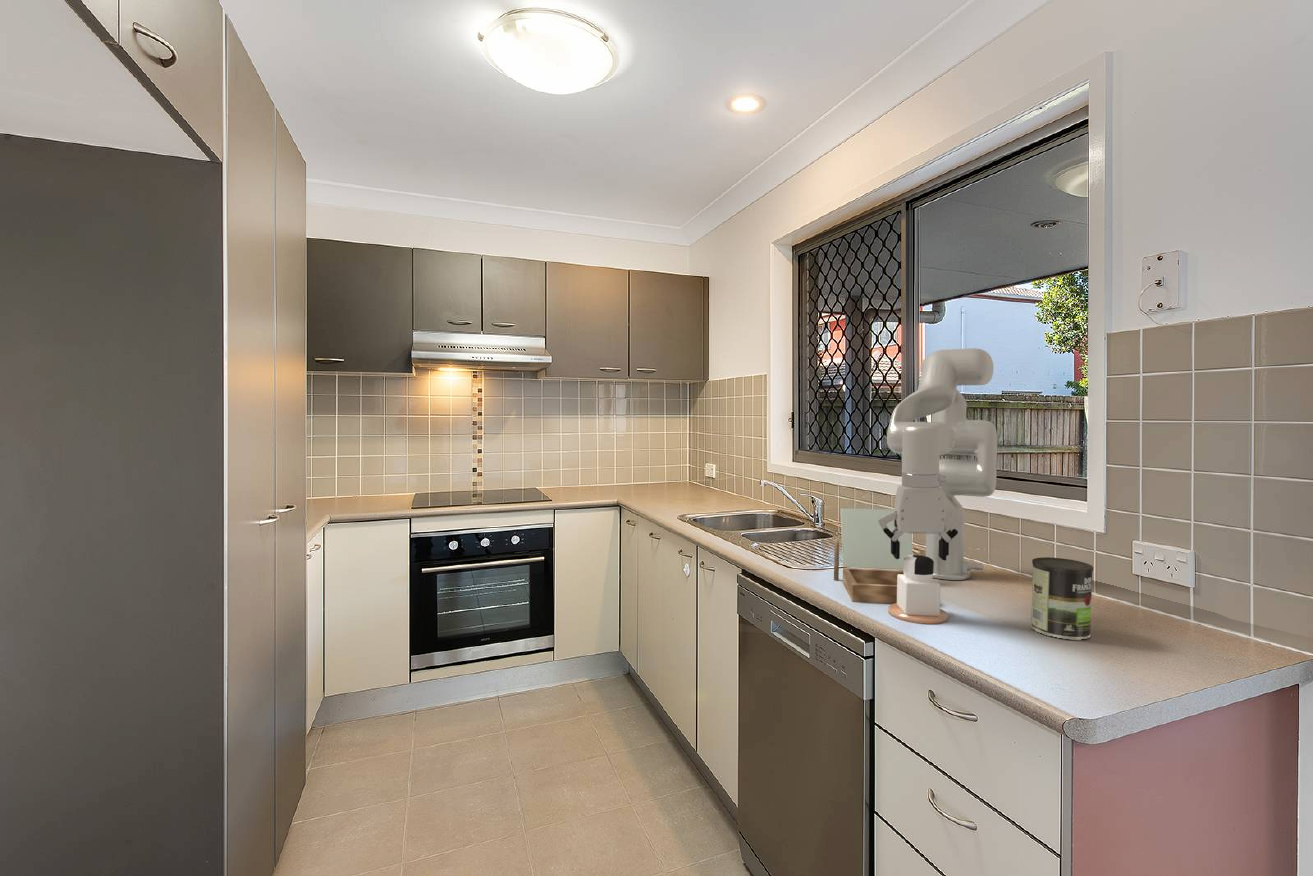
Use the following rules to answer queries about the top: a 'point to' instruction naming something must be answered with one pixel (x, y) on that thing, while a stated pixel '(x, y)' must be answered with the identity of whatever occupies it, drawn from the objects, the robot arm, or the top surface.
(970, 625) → the top surface
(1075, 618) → the coffee can
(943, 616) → the saucer
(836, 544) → the prop stake
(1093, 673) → the top surface
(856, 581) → the frame
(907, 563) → the medicine bottle
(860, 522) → the lid
